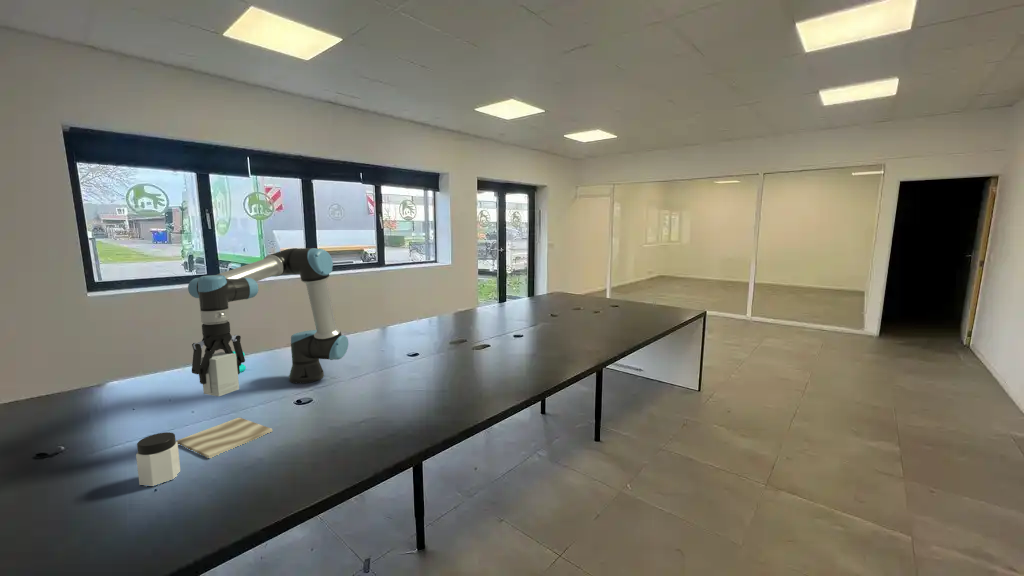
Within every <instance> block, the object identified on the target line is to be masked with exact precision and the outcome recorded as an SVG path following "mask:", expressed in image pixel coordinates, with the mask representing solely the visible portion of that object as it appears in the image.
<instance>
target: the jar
mask: <svg viewBox="0 0 1024 576" xmlns="http://www.w3.org/2000/svg"><path fill="white" fill-rule="evenodd" d="M176 441H177V440H176V434H175V433H174V432H169V431H168V432H160V433H155V434H151V435H148V436H145V437H144V438H141V439H139V441H138V442H137V443H136V447H137V452H136V454H135V457H136V465H137V474H138V483H139V486H140V485H149V486H154V485H157V484H160V483H163V482H166V481H169V480H172V479H174V478H175V477H176V478H177V476H178V475H179V474H180V473H179V472H181V463H180V452H179V445H178V442H176ZM178 473H179V474H178ZM177 474H178V475H177ZM176 478H175V479H176ZM175 479H174V480H175Z"/></svg>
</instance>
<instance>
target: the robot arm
mask: <svg viewBox="0 0 1024 576" xmlns="http://www.w3.org/2000/svg"><path fill="white" fill-rule="evenodd" d="M333 267H334V262H333V258H332V256H331V254H330V253H329V252H328V251H327V250H325V249H322V248H317V247H316V248H314V247H312V248H311V247H310V248H309V247H307V248H306V247H305V248H304V247H302V248H297V247H295V248H294V247H292V248H286V249H283V250H280V251H275V252H274V253H271V254H267V255H266V256H265V257H264V258H263V259H259V260H257V261H255V262H254V261H253V262H251V263H248V264H245V265H243V266H240V267H236V268H233V269H230V270H227V271H224V272H219V273H218V274H212V275H203V276H200V277H195V278H192V280H190V281H189V283H188V286H187V290H188V293H189V295H190V296H191V297H193V298H195V299H198V300H199V308H200V310H199V311H200V320H201V321H200V322H201V323H202V324H201V332H202V339H201V341H199V342H193V343H192V344H191V347H192V350H193V353H192V362H191V364H192V365H191V373H192V374H194V375H198V376H199V383H200V384H201V385H202V387H203V388H202V390H203V389H204V391H203V393H204V392H205V393H208V394H209V393H211V388H210V377H209V374H208V373H206V372H207V370H208V367H209V364H210V361H209V359H211V358H212V356H213V354H216V353H215V352H216V351H218V350H223V352H224V353H227V354H232V353H233V350H234V351H235V353H236V357H237V358H236V359H237V370H238V375H240V374H241V373H240V369H239V366H240V365H241V364H244V363H245V361H246V359H245V356H244V354H243V352H244V350H243V347H242V344H241V338H242V337H241V335H238V334H234V335H232V334H231V323H230V321H229V320H230V314H229V313H230V312H229V303H230V302H237V301H243V300H249V299H252V298H253V299H254V298H255V297H256V296H257V295H258V293H259V285H258V282H259V281H262V280H265V279H267V278H269V277H279V276H282V275H299V276H300V281H301V282H303V283H304V284H305V286H306V290H307V295H308V299H309V302H310V304H309V305H310V307H311V311H312V312H311V313H312V317H313V321H314V326H315V329H310V330H309V329H308V330H304V331H300V332H299V331H298V332H295V333H293V334H292V335H291V337H290V351H291V363H292V364H291V368H290V373H289V375H288V380H289V382H290V383H293V384H308V383H312V382H317V381H319V380H321V379H323V378H324V377H325V374H324V373H325V372H324V369H323V367H322V364H321V362H320V360H330V361H334V360H335V361H336V360H337V361H338V360H341V359H342V358H343V357H345V355H346V353H347V352H348V348H349V338H348V337H347V336H346V335H342V330H341V329H340V327H337V325H336V324H337V323H336V319H335V315H334V309H333V305H332V299H331V295H330V289H329V285H328V279H329V278H330V275H331V273H332V272H333ZM231 341H232V345H233V350H232V347H231V345H230V342H231ZM204 346H205V349H204V354H203V351H202V350H203V348H204ZM202 354H203V356H202ZM233 354H234V353H233ZM202 357H203V360H202V363H201V358H202ZM323 376H324V377H323Z"/></svg>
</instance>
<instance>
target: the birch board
mask: <svg viewBox="0 0 1024 576" xmlns="http://www.w3.org/2000/svg"><path fill="white" fill-rule="evenodd" d="M270 432H272V433H273V428H271V427H268V426H265V425H263V424H259V423H257V422H254V421H251V420H248V419H246V418H242V417H236V418H234V419H231V420H229V421H226V422H222V423H221V424H218V425H215V426H212V427H209V428H207V429H204V430H201V431H199V432H196V433H193V434H191V435H188V436H185V437H183V438H180V439H178V440H176V442H178V444H180V445H182V446H184V447H186V448H188V449H190V450H193V451H195V452H197V453H199V454H201V455H203V456H205V457H204V458H206V457H207V458H206V459H208V458H211V459H213V458H212V457H214V456H216V455H218V456H220V455H219V454H220V453H223V452H225V451H227V452H229V451H228V450H230V449H232V450H234V449H236V448H235V447H237V446H239V447H241V446H243V445H242V444H244V445H246V444H248V443H250V442H249V441H251V442H253V441H255V440H257V438H258V439H260V438H262V437H264V436H263V435H265V434H267V433H269V434H271V433H270ZM267 435H268V434H267ZM261 436H262V437H261ZM265 436H266V435H265ZM259 437H260V438H259ZM254 439H255V440H254ZM252 440H253V441H252ZM247 442H248V443H247ZM245 443H246V444H245ZM240 445H241V446H240ZM184 447H183V448H184ZM186 448H185V449H186ZM233 448H234V449H233ZM237 448H238V447H237ZM188 449H187V450H188ZM190 450H189V451H190ZM230 451H231V450H230ZM195 452H194V453H195ZM197 453H196V454H197ZM225 453H226V452H225ZM199 454H198V455H199ZM223 454H224V453H223ZM201 455H200V456H201ZM203 456H202V457H203ZM216 457H217V456H216ZM214 458H215V457H214Z"/></svg>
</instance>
